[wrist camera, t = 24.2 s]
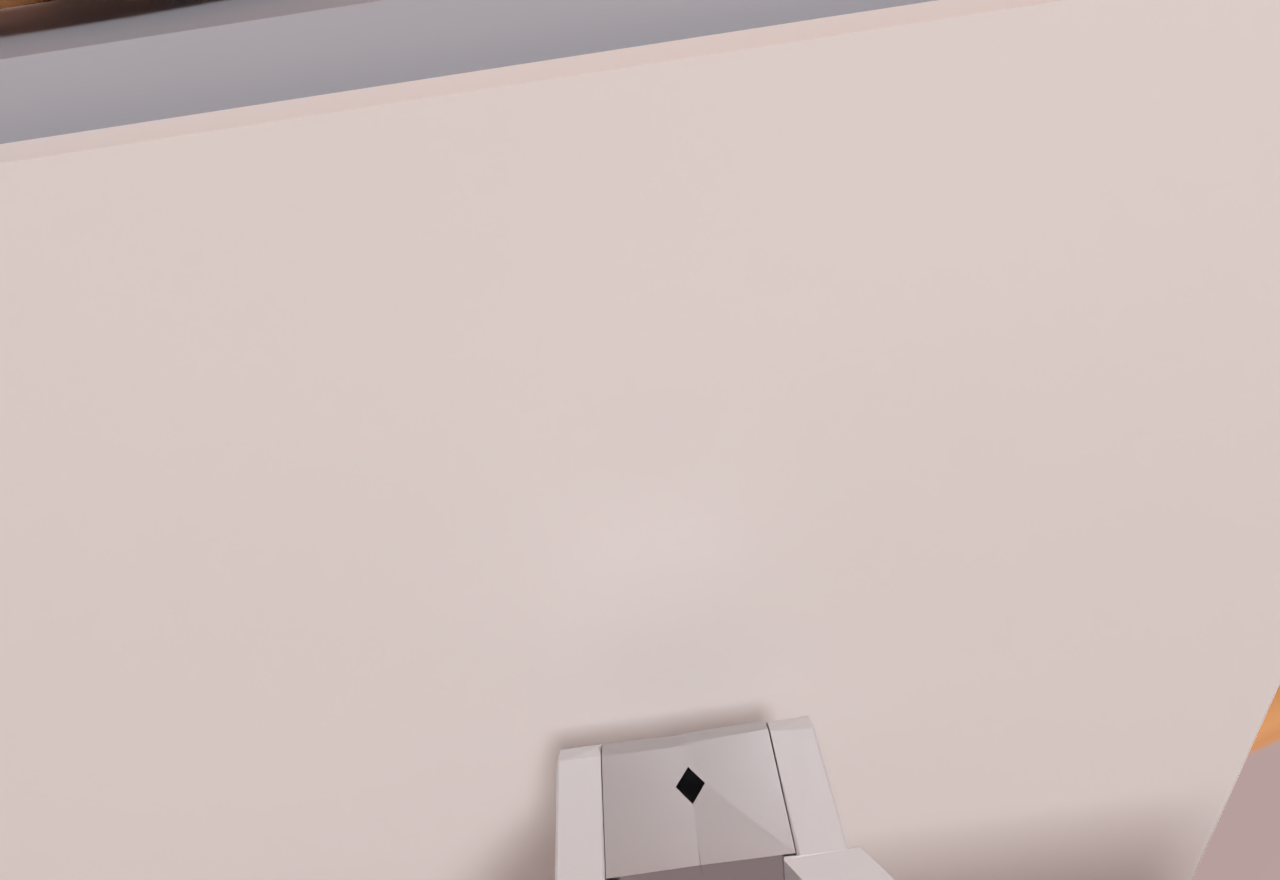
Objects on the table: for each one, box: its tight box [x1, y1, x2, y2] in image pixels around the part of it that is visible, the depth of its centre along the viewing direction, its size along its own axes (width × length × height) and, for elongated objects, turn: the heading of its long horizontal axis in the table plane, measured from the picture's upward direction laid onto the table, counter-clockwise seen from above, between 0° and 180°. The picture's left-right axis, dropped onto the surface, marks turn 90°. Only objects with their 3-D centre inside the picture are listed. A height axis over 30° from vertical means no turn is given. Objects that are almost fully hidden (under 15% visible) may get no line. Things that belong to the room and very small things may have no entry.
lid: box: [0, 0, 1280, 880], centre depth 12 cm, size 26×15×1 cm, turn 97°
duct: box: [0, 0, 936, 144], centre depth 15 cm, size 26×16×7 cm, turn 97°
